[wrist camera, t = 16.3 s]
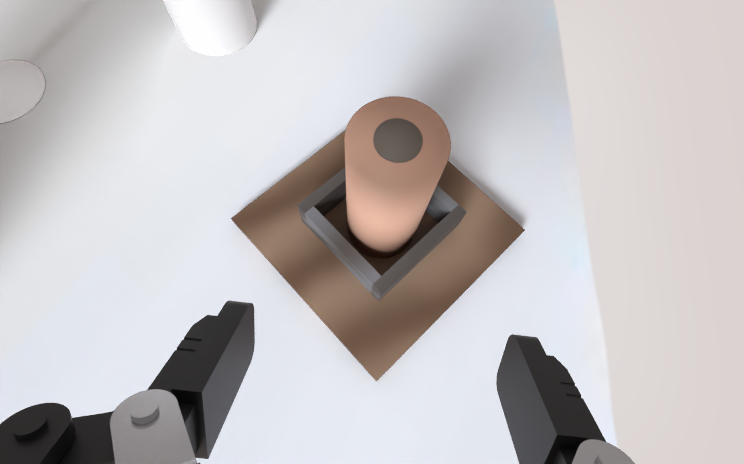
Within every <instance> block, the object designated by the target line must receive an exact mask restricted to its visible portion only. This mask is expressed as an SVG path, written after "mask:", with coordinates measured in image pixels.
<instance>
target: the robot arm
mask: <svg viewBox="0 0 744 464" xmlns="http://www.w3.org/2000/svg"><path fill="white" fill-rule="evenodd" d="M254 343H255V339H254V306H253V304H252V303H244V302H236V301H227V302H226V303H225V305H224V306H223V308H222V310H221V311H220V313H219V314H218V316H211V315H207V316H205V317H204V318H203V319H201V320H200V321H198V322H197V323H195V324H194V325H193V326H192V327H191V329H190V330H189V332H188V333H187V334H186V336H185V337H184V340H182V342H181V343H180V344H179V346H178V347H177V350H175V351H174V353H173V354H172V356H171V357H170V359H169V360H168V361H167V363H166V364H165V366H164V367H163V368H162V370H161V371H160V373H159V374H158V376H157V377H156V378H155V380H154V381H153V383H152V384H151V386H150V387H149V388H148V390H146V391H142V392H139V393H137V394H134V395H132V396H130V397H129V398H127V399H126V400H124V401H123V402H122V403H121V404H120V405H119V406H118V407H117V408H116V409H115V410H114V411H112V412H108V413H102V414H96V415H89V416H83V417H76V418H72V417H71V414H70V411H69V409H68V408H67V407H65V406H64V405H61V404H58V403H44V404H38V405H34V406H31V407H28V408H26V409H23V410H21V411H19V412H17V413H15V414H14V415H12V416H10V417H9V418H7V419H6V420H5V421H4V422H2V423H1V424H0V464H197V461H196V458H204V459H208V458H209V456H210V453H211V451H212V449H213V447H214V444H215V442H216V440H217V438H218V435H219V433H220V431H221V428H222V426H223V424H224V422H225V419H226V417H227V415H228V413H229V410H230V408H231V406H232V404H233V401H234V399H235V397H236V394H237V392H238V390H239V388H240V385H241V383H242V381H243V379H244V376H245V374H246V372H247V370H248V367H249V365H250V363H251V360H252V356H253V352H254ZM497 391H498V395H499V398H500V402H501V405H502V408H503V411H504V415H505V418H506V421H507V424H508V428H509V431H510V434H511V437H512V441H513V444H514V447H515V451H516V454H517V457H518V460H519V464H635V463H634V462H633V461H632V460H631V459H630V457H628V456H627V455H626V454H625V453H624V452H622V451H621V450H620V449H618V448H617V447H615V446H613V445H611V444H609V443H607V442H606V441H605V439H604V437H603V435H602V433H601V431H600V429H599V428H598V426H597V424H596V422H595V420H594V418H593V416H592V415H591V413H590V411H589V409H588V407H587V405H586V404H585V402H584V400H583V399H582V398H581V394H580V392H579V391H578V389H577V387H576V386H575V383H574V381H573V379H572V378H571V376H570V374H569V372H568V370H567V369H566V368H565V367H564V366H563V365H562V364H561V363H560V362H559V361H558V360H557V359H556V358H555V357H554V356H548V355H546V353H545V351H544V349H543V347H542V345H541V343H540V341H539V340H538V338H536V337H529V336H521V335H510V337H509V338H508V341H507V344H506V347H505V350H504V353H503V356H502V360H501V363H500V366H499V369H498V373H497ZM198 464H200V463H198Z"/></svg>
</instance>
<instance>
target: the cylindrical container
mask: <svg viewBox="0 0 744 464" xmlns="http://www.w3.org/2000/svg"><path fill="white" fill-rule="evenodd" d="M163 2H164V4H165V6H166V8H167V10H168V12H169V14H170V16H171V18H172V20H173V22H174V24H175V26H176V28H177V30H178V32H179V34H180V36H181V38H182V40H183V41H184V43H185V44H186V45H187V46H188V47H189V48H190V49H192V50H194V51H195V52H198V53H200V54H203V55H208V56H222V55H228V54H231V53H234V52H236V51H239V50H240V49H242V48H244V47H245V46H246V45H247V44H248V43H249V42H250V41H251V40H252V38H253V37H254V35H255V33H256V30H257V20H256V16H255V12H254V8H253V5H252V1H251V0H163Z"/></svg>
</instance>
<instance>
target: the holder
mask: <svg viewBox="0 0 744 464" xmlns="http://www.w3.org/2000/svg"><path fill="white" fill-rule="evenodd" d="M345 132H346V130H345V131H344V132H343V133H341V134H340V135H339V136H337V137H336V138H335V139H334V140H332V141H331V142H330V143H328V144H327V145H326V146H324V147H323V148H322V149H321V150H319V151H318V152H317V153H315V154H314V155H313V156H311V157H310V158H309V159H308V160H306V161H305V162H304V163H302V164H301V165H300V166H299V167H297V168H296V169H295V170H293V171H292V172H291V173H289V174H288V175H287V176H286V177H284V178H283V179H282V180H280V181H279V182H278V183H276V184H275V185H274V186H273V187H271V188H270V189H269V190H267V191H266V192H265V193H263V194H262V195H261V196H260V197H258V198H257V199H256V200H254V201H253V202H252V203H250V204H249V205H248V206H247V207H245V208H244V209H243V210H241V211H240V212H239V213H238V214H236V215H235V216H234V217H232V218H231V219H232V220H233V222H234V223H235V224H236V225H237V226H238V227H239V228H240V230H241V231H242V232H243V233H244V234H245V235H246V236H247V237H248V239H249V240H250V241H251V242H252V243H253V244H254V245H255V246H256V247H257V249H258V250H259V251H260V252H261V253H262V254H263V255H264V256H265V258H266V259H267V260H268V261H269V262H270V263H271V264H272V265H273V266H274V268H275V269H276V270H277V271H278V272H279V273H280V274H281V275H282V277H283V278H284V279H285V280H286V281H287V282H288V283H289V284H290V285H291V287H292V288H293V289H294V290H295V291H296V292H297V293H298V294H299V295H300V297H301V298H302V299H303V300H304V301H305V302H306V303H307V304H308V306H309V307H310V308H311V309H312V310H313V311H314V312H315V313H316V314H317V316H318V317H319V318H320V319H321V320H322V321H323V322H324V323H325V325H326V326H327V327H328V328H329V329H330V330H331V331H332V332H333V333H334V335H335V336H336V337H337V338H338V339H339V340H340V341H341V342H342V344H343V345H344V346H345V347H346V348H347V349H348V350H349V351H350V352H351V354H352V355H353V356H354V357H355V358H356V359H357V360H358V361H359V363H360V364H361V365H362V366H363V367H364V368H365V369H366V370H367V371H368V373H369V374H370V375H371V376H372V377H373V378H374V379H375V380H376V381H377V380H378V379H379V378H380V377H381V376H382V375H383V374H384V373H385V372H386V371H387V370H388V369H389V368H390V367H391V366H392V365H393V364H394V363H395V362H396V361H397V360H398V359H399V358H400V357H401V356H402V355H403V354H404V353H405V352H406V351H407V350H408V349H409V348H410V347H411V346H412V345H413V344H414V343H415V342H416V341H417V340H418V339H419V338H420V337H421V336H422V335H423V334H424V333H425V331H426V330H427V329H428V328H429V327H430V326H431V325H432V324H433V323H434V322H435V321H436V320H437V319H438V318H439V317H440V316H441V315H442V314H443V313H444V312H445V311H446V310H447V309H448V308H449V307H450V306H451V305H452V304H453V303H454V302H455V301H456V300H457V299H458V298H459V297H460V296H461V295H462V294H463V293H464V292H465V291H466V290H467V289H468V288H469V287H470V286H471V285H472V284H473V283H474V282H475V280H476V279H477V278H478V277H479V276H480V275H481V274H482V273H483V272H484V271H485V270H486V269H487V268H488V267H489V266H490V265H491V264H492V263H493V262H494V261H495V260H496V259H497V258H498V257H499V256H500V255H501V254H502V253H503V252H504V251H505V250H506V249H507V248H508V247H509V246H510V245H511V244H512V243H513V242H514V241H515V240H516V239H517V238H518V237H519V236H520V235H521V234H522V233H523V232H524V231H525V229H523V228H522V227H521V226H520V225H519V224H518V223H517V222H516V221H514V220H513V219H512V218H511V217H510V216H509V215H508V214H507V213H506V212H504V211H503V210H502V209H501V208H500V207H499V206H498V205H497V204H496V203H494V202H493V201H492V200H491V199H490V198H489V197H488V196H487V195H485V194H484V193H483V192H482V191H481V190H480V189H479V188H478V187H477V186H475V185H474V184H473V183H472V182H471V181H470V180H469V179H468V178H467V177H465V176H464V175H463V174H462V173H461V172H460V171H459V170H458V169H456V168H455V167H454V166H453V165H452V164H451V163H450V162H449V161H447V163H446V166H445V168H444V170H443V172H442V175H441V177H440V179H439V181H438V183H437V186H436V188H435V190H434V192H433V195H432V197H431V199H430V201H429V203H428V206H427V208H426V210H425V212H424V215H423V217H422V219H421V221H420V223H419V226H418V228H417V230H416V232H415V235H414V237H413V239H412V241H411V243H410V244H409V246H408V247H407V248H406V249H405V250H404V251H403V252H401V253H400V254H398V255H396V256H393V257H390V258H374V257H371V256H368V255H366V254H364V253H362V252H361V251H359V250H358V249H357V248H356V247H355V245H354V244H353V243H352V241H351V239H350V237H349V234H348V229H347V202H346V172H345V142H344V138H345Z"/></svg>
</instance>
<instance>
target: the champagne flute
mask: <svg viewBox="0 0 744 464" xmlns="http://www.w3.org/2000/svg"><path fill="white" fill-rule="evenodd" d="M44 90H45V78H44V75H43V74H42V72H41V71H40V69H39V68H38V67H36V66H35V65H33V64H31V63H29V62H26V61H21V60H7V61H1V62H0V123H5V122H8V121H12V120H14V119H17V118H19V117H21V116H23V115H24V114H26V113H27V112H29V111H30V110H31V109H32V108H34V107H35V105H36V104H37V103H38V102H39V101H40V99H41V97H42V95H43V93H44Z"/></svg>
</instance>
